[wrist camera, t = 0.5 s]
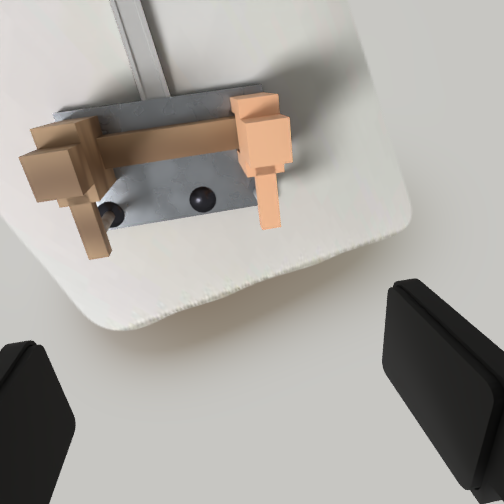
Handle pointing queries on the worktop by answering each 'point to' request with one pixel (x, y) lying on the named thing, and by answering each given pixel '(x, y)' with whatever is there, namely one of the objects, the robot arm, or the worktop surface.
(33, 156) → the trammel bar
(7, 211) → the worktop surface
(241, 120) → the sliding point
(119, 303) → the worktop surface
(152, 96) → the adjustable wrench
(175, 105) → the flange plate
